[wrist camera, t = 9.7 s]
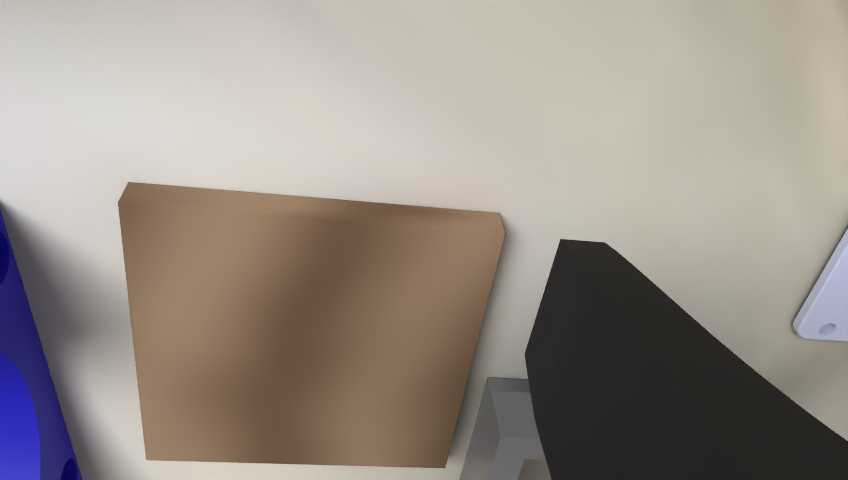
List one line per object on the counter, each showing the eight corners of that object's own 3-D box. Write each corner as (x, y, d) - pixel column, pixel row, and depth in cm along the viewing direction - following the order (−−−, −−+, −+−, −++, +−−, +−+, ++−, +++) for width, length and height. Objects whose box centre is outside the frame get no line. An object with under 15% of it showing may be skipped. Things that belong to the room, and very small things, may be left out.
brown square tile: (499, 213, 20) (505, 232, 19) (441, 445, 26) (444, 468, 25) (128, 182, 19) (118, 202, 18) (153, 435, 24) (146, 460, 23)
